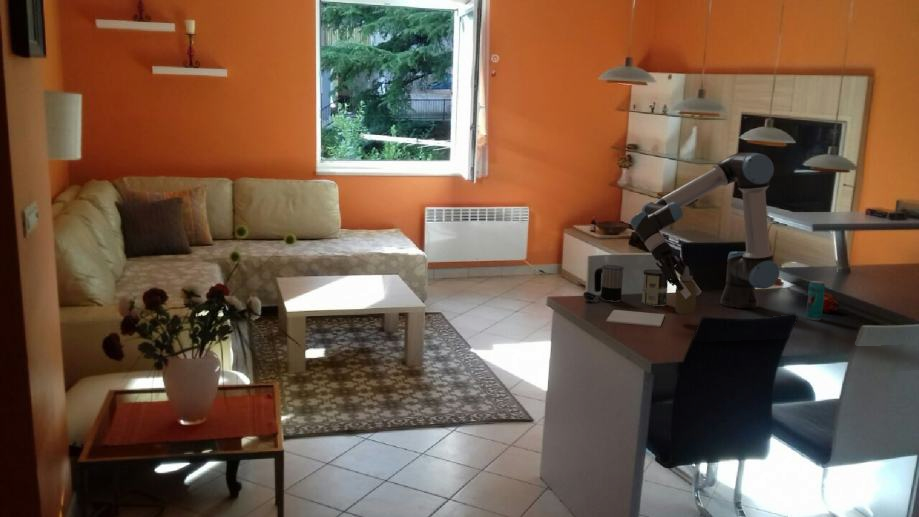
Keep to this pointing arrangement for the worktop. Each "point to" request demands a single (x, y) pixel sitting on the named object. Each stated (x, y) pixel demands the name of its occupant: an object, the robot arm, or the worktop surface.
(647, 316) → the mat
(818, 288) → the beverage can
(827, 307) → the dragon fruit
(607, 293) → the milk frother
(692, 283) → the squeeze bottle
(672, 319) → the worktop surface
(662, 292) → the coffee can
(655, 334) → the worktop surface
